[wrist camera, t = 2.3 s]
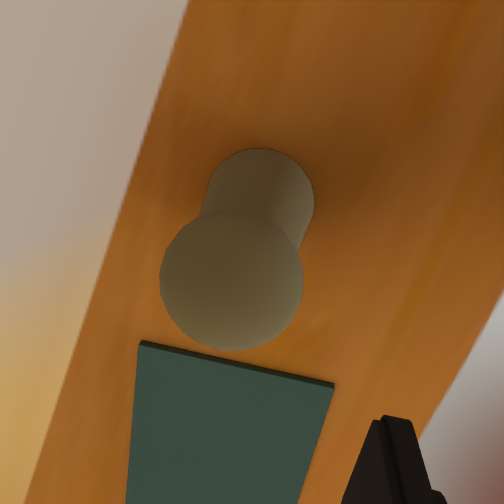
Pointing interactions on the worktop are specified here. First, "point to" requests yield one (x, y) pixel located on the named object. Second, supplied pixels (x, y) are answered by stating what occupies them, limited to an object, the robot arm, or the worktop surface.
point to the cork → (241, 253)
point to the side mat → (220, 430)
